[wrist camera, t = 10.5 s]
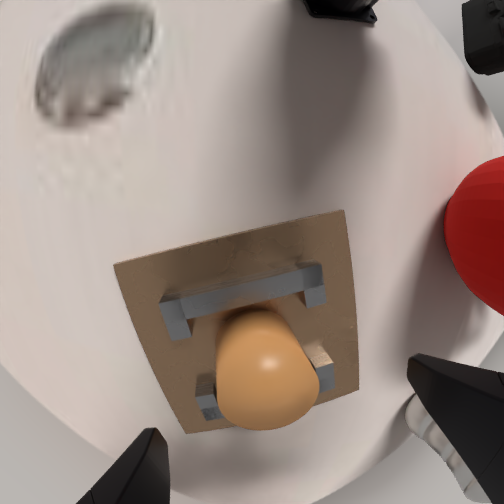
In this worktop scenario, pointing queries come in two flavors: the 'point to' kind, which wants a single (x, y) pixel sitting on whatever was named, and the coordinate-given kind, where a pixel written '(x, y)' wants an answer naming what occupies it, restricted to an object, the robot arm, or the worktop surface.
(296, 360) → the cap
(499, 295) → the ceramic cup
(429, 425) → the plastic bottle
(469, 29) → the film camera
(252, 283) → the socket
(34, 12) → the worktop surface
